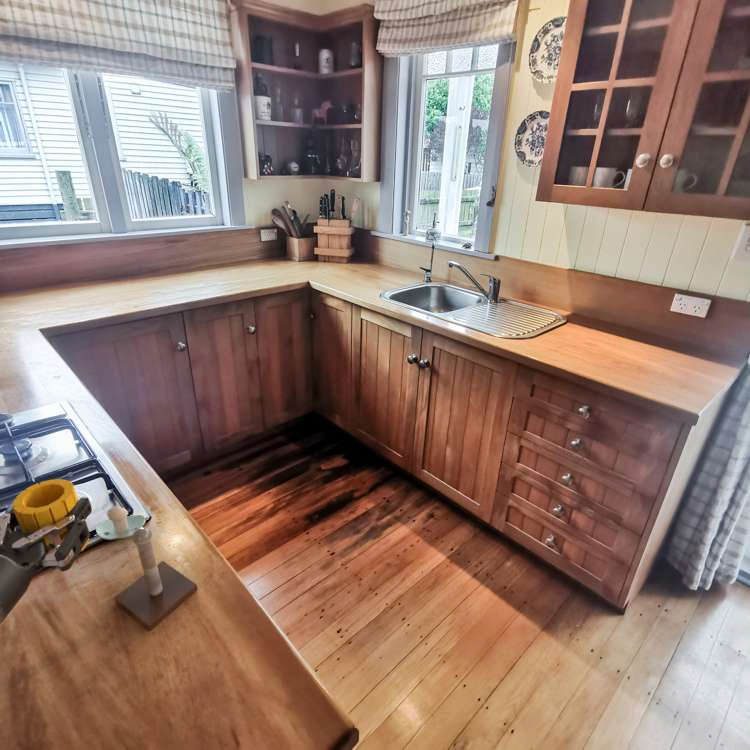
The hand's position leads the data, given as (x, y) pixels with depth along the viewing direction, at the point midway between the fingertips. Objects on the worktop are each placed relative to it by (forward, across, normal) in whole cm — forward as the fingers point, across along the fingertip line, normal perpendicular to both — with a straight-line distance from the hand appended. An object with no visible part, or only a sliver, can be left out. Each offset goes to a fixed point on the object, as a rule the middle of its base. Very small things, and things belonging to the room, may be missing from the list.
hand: (60, 501), depth 64 cm
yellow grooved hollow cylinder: (-2, 0, +6) cm, 6 cm away
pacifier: (+10, -1, +16) cm, 19 cm away
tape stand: (-3, -12, +15) cm, 20 cm away
